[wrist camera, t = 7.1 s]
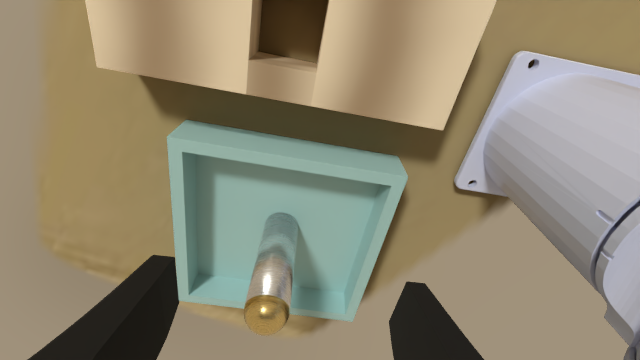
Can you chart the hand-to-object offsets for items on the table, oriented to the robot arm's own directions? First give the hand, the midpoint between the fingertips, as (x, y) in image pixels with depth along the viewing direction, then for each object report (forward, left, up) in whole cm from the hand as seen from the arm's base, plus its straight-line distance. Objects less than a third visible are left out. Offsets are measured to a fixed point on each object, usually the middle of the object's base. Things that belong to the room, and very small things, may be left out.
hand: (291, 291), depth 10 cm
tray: (+1, +5, -10) cm, 11 cm away
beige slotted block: (+2, -7, -10) cm, 12 cm away
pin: (+1, +5, -9) cm, 11 cm away
